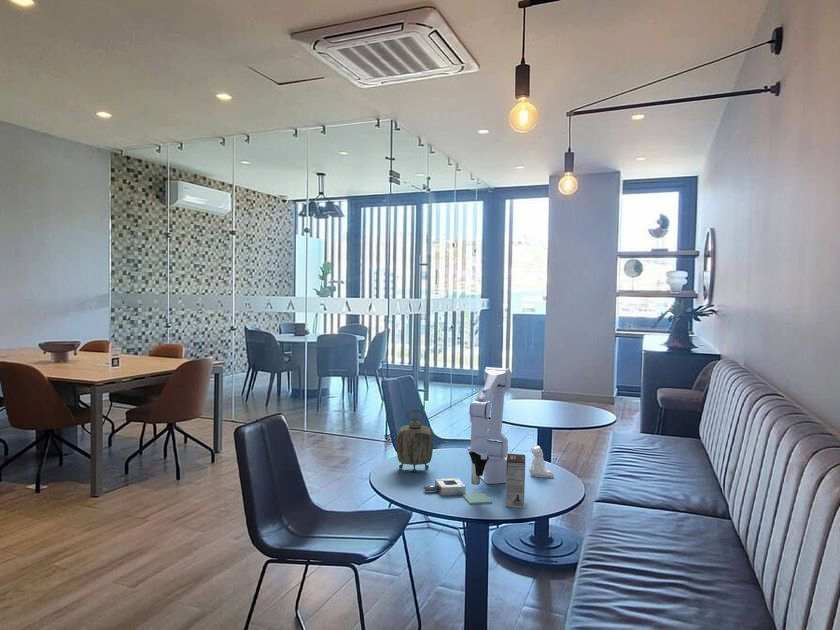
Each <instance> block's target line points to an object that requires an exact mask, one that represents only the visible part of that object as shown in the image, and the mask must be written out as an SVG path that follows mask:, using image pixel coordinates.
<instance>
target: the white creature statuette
mask: <svg viewBox="0 0 840 630" xmlns="http://www.w3.org/2000/svg"><path fill="white" fill-rule="evenodd" d="M530 451H531V453H532V455H533V456H534V457H533V459H532V460H531V461H532V463H531V464H530V466H529V469H528V470H529V473H530V475H531V476H532V477H534V478H550V479H553V478H554V477H555V473H554V472H552V471H551V470H547V469H546V465H545V464H546V462H545V459H544V453H543V449H542V448H541V446H540V445H535V446H534V447H532V446H531V447H530Z"/></svg>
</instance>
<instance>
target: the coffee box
mask: <svg viewBox="0 0 840 630" xmlns="http://www.w3.org/2000/svg"><path fill="white" fill-rule="evenodd" d="M506 458H507V468H506V483H505V508H517V509H524V504H525V484H526V481H525V480H526V454H520V453H519V454H518V453H507V457H506Z"/></svg>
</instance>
